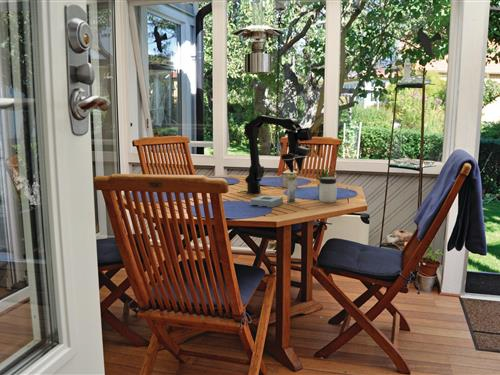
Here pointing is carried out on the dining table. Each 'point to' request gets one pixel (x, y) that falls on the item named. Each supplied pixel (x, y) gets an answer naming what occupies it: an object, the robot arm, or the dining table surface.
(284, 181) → the teacup with lid
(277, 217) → the dining table surface
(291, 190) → the pin
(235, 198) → the dining table surface
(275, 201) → the socket block
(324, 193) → the jar
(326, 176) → the house plant
